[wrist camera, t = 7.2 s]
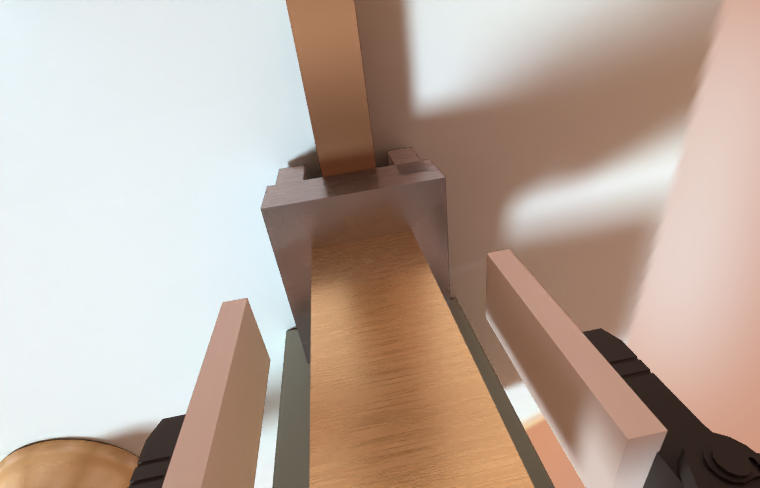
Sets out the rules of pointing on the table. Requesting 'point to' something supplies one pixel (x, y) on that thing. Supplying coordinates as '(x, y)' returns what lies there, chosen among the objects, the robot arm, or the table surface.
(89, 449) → the hand bell
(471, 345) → the grey hole block
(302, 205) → the block
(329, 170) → the rail
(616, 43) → the table surface
